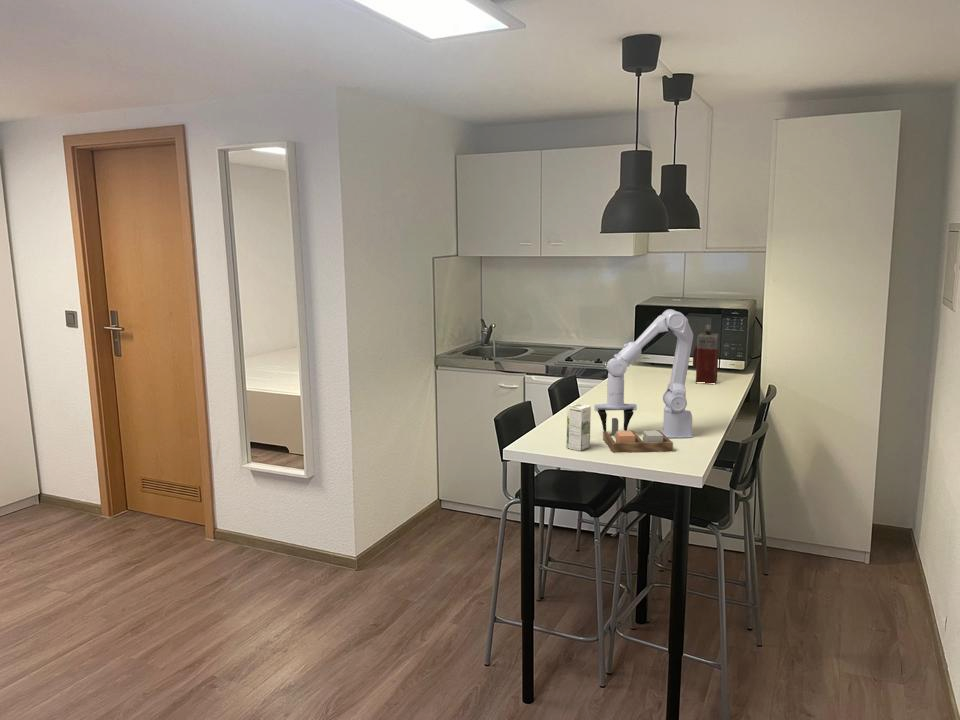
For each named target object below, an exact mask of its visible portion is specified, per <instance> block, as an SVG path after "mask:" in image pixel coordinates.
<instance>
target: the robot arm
mask: <svg viewBox="0 0 960 720" xmlns="http://www.w3.org/2000/svg"><path fill="white" fill-rule="evenodd" d="M661 313H662V314H660V315H658V316H657V318H655V319H654V320H653V322H652V323H650V325H649V326H648V327H647V328H646V329H645V330H644V331H643V332H642V333H641V334H640V335H639V336H638V337H637V338H636V340H635V341H629V342H628V343H624V344H623V348H622V349H621V350H620V351H619V352H618V353H615V354H614V355H613V357H612V358H611V359H609V360H608V362H607V363H606V370H607V371H608V372H607V373H608V374H607V393H606V394H607V396H606V397H607V399H606V400H607V401H606V403H601V404H594V406H593V407H594V408H593V409H594V411H595V412H597V413H598V416H599V418H600V420H601V425H602V430H603V431H607V416H608V413H607V411H623V431H628V427H629V424H630V421H631V418H632V417H633V416H634V412H635V411H637V409H638V408H637V404H636V403H625V379H624V378H625V374H626V371H627V368H628V367H630V365H632V364H633V362H635V360H637V358H639V357H640V355H642V349H644V347H645V346H646V345H647V344H648V343H650V342H651V341H652V340H653V339H654V338H655V337H656V336H658V334H659V333H664V332H669V330H670V331H671V332H672V333H673V335H674V336H676V338H677V339H676V345H675V349H674V350H675V351H674V358H673V364H672V368H671V369H672V370H671V374H670V381H669V383H668V385H667V388H666V391H665V392H664V393H663V395H662V401H663V403H664V404H665V405H664V408H663V423H662V424H663V427H662V428H663V430H660V431H661V432H662V433H663V434H664V435H665V436H666V437H667V438H668V439H670V438H671V439H677V438H679V439H685V438H693V415H692V412H691V410H686V408H687V405H688V402H687V398H686V395H687V390H686V380H687V375H688V369H689V364H690V357H691V351H692V347H693V340H694V333H693V330H692V328H691V326H690V324H689V319H688V318H687V317H686V316H685V315H684V314H683V313H682V312H680V311H676V310H675V309H671V308H669V309H666V310H664V311H663V312H661Z"/></svg>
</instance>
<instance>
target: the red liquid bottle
mask: <svg viewBox="0 0 960 720" xmlns="http://www.w3.org/2000/svg"><path fill="white" fill-rule="evenodd" d="M719 339H720V334H719V333H712V324H706V325H705V332H701V333H699V334H698V335H697V339H696V341H697V342H696V343H697V344H696V345H695V346H694V349H693V352H692V367H693V368H696V370H695V371H696V373H695V383H696V382H705V383H716V384H717V382H718V367H719V366H718V365H719V362H718V361H719V345H720V344H719V343H720V342H719V341H720V340H719ZM716 381H717V382H716Z"/></svg>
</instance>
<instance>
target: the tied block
mask: <svg viewBox="0 0 960 720" xmlns="http://www.w3.org/2000/svg"><path fill="white" fill-rule="evenodd" d="M631 431H632V430H627V431H625V430H621V431H619V419H618V418H617V417H611V436H612V435H613V436H615V437H614V438H615V442H616V443H635V435H634V434H633V433H632V432H631ZM613 436H612V437H613Z"/></svg>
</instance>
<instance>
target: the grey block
mask: <svg viewBox="0 0 960 720" xmlns="http://www.w3.org/2000/svg"><path fill="white" fill-rule="evenodd" d="M642 433H643V434H642V441H643V442H663V435H662V434H661V433H660V432H659V431H656V430H649V431H647V430H644V431H643V432H642Z"/></svg>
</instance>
